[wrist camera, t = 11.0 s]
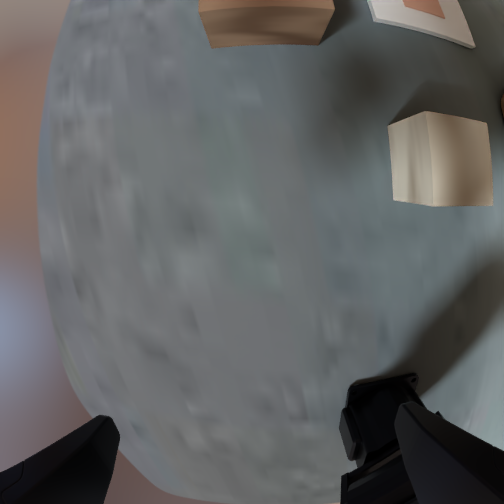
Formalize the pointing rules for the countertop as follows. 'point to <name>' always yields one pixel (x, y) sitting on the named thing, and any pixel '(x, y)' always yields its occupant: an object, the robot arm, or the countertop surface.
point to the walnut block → (265, 21)
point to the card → (425, 18)
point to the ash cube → (441, 160)
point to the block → (502, 104)
